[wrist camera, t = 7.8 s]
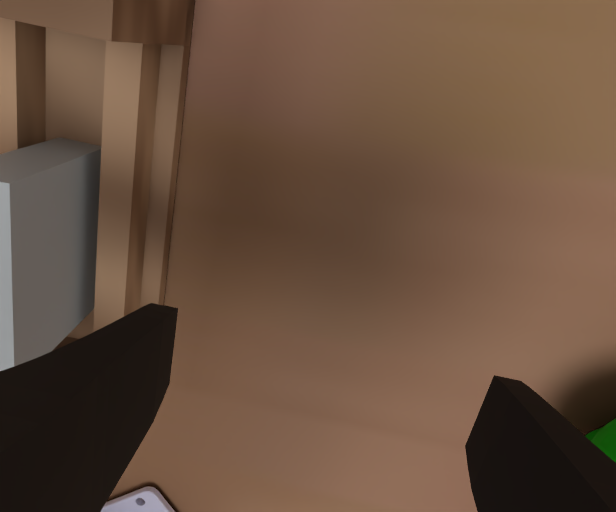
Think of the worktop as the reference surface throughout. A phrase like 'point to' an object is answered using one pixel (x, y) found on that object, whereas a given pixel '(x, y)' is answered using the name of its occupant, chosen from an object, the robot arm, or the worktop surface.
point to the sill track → (105, 123)
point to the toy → (605, 439)
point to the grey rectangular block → (46, 245)
